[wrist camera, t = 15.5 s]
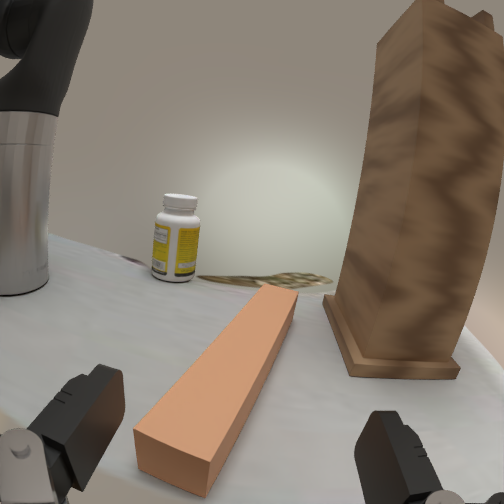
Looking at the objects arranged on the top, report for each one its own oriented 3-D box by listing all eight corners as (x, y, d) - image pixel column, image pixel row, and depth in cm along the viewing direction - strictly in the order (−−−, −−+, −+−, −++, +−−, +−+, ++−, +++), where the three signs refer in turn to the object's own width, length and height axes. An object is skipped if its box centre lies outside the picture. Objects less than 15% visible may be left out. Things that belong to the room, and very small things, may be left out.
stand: (349, 375, 23) (413, -31, 15) (322, 303, 37) (367, 31, 29) (455, 378, 23) (513, 22, 14) (401, 314, 37) (445, 60, 29)
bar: (138, 472, 12) (133, 428, 11) (258, 315, 33) (264, 283, 32) (204, 501, 11) (210, 461, 10) (291, 323, 32) (298, 291, 31)
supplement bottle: (196, 271, 41) (205, 196, 39) (191, 286, 36) (201, 201, 34) (156, 265, 41) (163, 191, 38) (146, 279, 36) (153, 194, 33)
